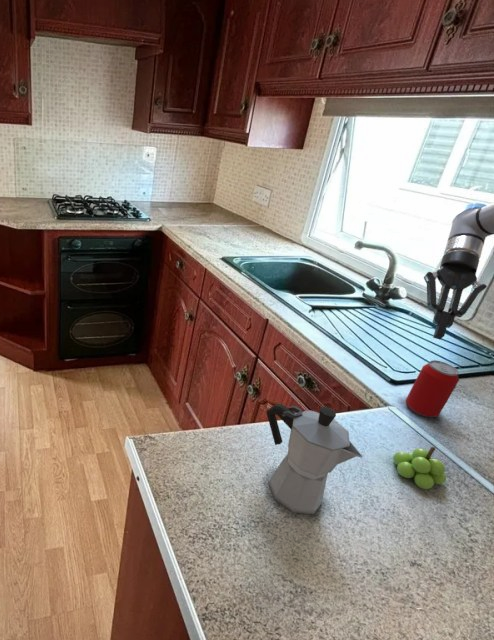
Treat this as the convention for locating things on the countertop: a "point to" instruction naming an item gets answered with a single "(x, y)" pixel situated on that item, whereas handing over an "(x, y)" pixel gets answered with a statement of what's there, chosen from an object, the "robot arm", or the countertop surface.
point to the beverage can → (432, 388)
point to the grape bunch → (420, 467)
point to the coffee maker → (307, 455)
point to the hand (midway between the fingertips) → (438, 336)
